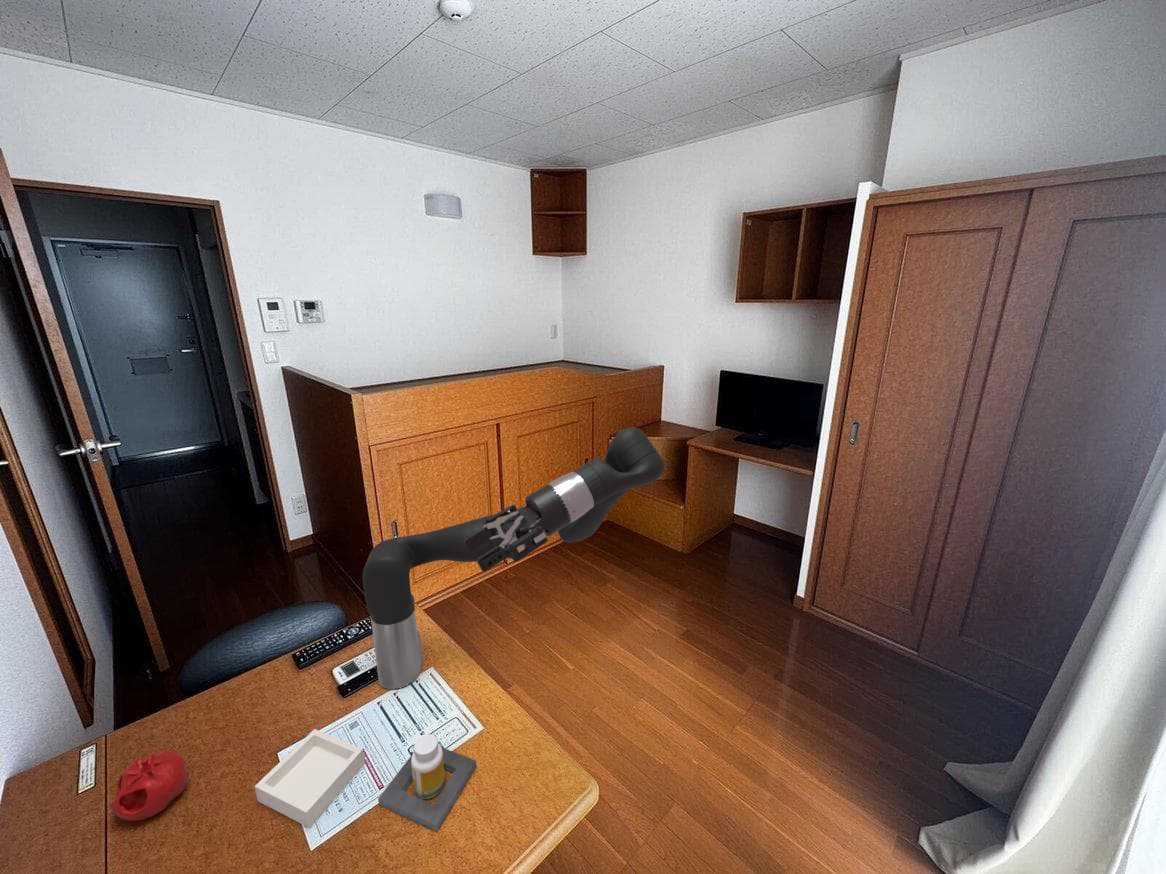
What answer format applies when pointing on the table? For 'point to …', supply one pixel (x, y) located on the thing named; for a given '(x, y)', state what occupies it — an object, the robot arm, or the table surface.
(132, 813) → the pomegranate
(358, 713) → the table surface
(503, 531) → the robot arm
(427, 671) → the table surface
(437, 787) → the supplement bottle
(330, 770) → the bin
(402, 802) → the socket plate
